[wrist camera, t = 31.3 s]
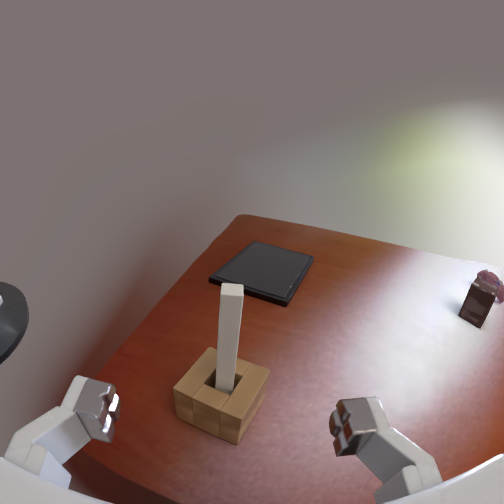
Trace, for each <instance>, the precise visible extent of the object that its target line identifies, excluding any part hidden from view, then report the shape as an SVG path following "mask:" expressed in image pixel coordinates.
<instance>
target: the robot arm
mask: <svg viewBox="0 0 504 504" xmlns="http://www.w3.org/2000/svg"><path fill="white" fill-rule="evenodd" d="M2 303H3V299H2V297H1V295H0V306H1V304H2ZM115 393H116V388H115V385H114V384H109V383H105V382H101V381H97V380H93V379H90V378H85V377H82V376H76V377H75V378H74V379H73V381H72V383H71V385H70V387H69V389H68V391H67V393H66V396H65V398H64V400H63V402H62V404H61V406H60V407H58V406H57V407H55V408H54V409H52V410H50V411H49V412H47V413H45V414H44V415H42V416H40V417H39V418H37V419H36V420H34V421H32V422H31V423H29V424H28V425H26V426H24V427H23V428H21V429H19V430H18V431H16V432H15V434H14V436H13V438H12V440H11V442H10V444H9V447H8V449H7V451H6V454H5V456H4V458H2V457H1V456H0V504H113V503H109V502H106V501H102V500H99V499H96V498H92V497H90V496H87V495H84V494H81V493H78V492H75V491H72V490H70V489H68V487H69V483H70V480H71V475H70V474H69V472H67V471H66V469H65V468H64V467H63V466H62V464H63V463H65V462H66V461H67V460H68V459H69V458H70V457H72V456H73V455H74V454H75V453H76V452H77V451H78V450H79V449H81V448H82V447H83V446H84V445H85V444H86V443H87V442H89V441H90V440H91V438H93V439H97V440H101V441H105V442H109V443H111V442H112V439H113V435H114V432H115V427H114V425H113V423H114V422H116V421H117V420H118V419H119V415H120V408H121V405H120V400H119V397H118V396H117V395H115ZM336 407H337V409H336V410H335V411H333V412H332V414H331V416H330V420H329V428H330V433H331V434H332V435H333V436H334V437H335V440H334V442H333V445H334V449H335V453H336V457H338V456H347V455H355V454H357V455H356V456H357V457H358V458H359V459H360V460H361V461H362V462H363V463H364V464H365V465H366V466H367V467H368V468H369V469H370V470H371V471H372V472H373V473H374V474H375V475H376V476H377V477H378V478H379V479H380V480H381V481H382V482H383V483H384V484H383V485H382V486H381V487H379V488H378V489H377V490H376V491H375V492H374V497H375V501H376V504H504V454H499V455H497V456H495V457H493V458H491V459H490V460H488V461H486V462H484V463H482V464H480V465H479V466H477V467H475V468H473V469H471V470H469V471H467V472H465V473H463V474H461V475H458V476H456V477H454V478H452V479H450V480H447V481H445V482H443V480H442V477H441V475H440V472H439V470H438V467H437V465H436V463H435V460H434V458H433V457H432V456H431V455H429V454H428V453H427V452H425V451H424V450H423V449H421V448H420V447H419V446H417V445H416V444H415V443H413V442H412V441H410V440H409V439H408V438H406V437H405V436H404V435H403V434H401V433H400V432H399V431H397V430H396V429H395V428H390V425H389V423H388V420H387V418H386V415H385V413H384V410H383V408H382V406H381V403H380V401H379V398H377V397H376V396H373V397H366V398H363V397H362V398H352V399H342V400H339V401H338V403H337V404H336Z"/></svg>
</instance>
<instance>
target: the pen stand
mask: <svg viewBox="0 0 504 504" xmlns="http://www.w3.org/2000/svg"><path fill="white" fill-rule="evenodd" d="M216 364H217V350H216V349H214V348H211V347H209V348H208V349H207V350H206V351H205V352H204V354H203V355H202V356H201V357H200V358H199V359H198V360H197V362H196V363H195V364H194V365H193V366H192V367H191V368H190V370H189V371H188V372H187V373H186V374H185V375H184V376H183V377H182V379H181V380H180V381H179V382H178V383H177V384H176V385H175V386H174V388H173V391H174V399H175V407H176V414H177V417H178V418H179V419H181V420H183V421H185V422H187V423H189V424H191V425H193V426H195V427H197V428H199V429H202V430H204V431H206V432H208V433H210V434H212V435H214V436H217V437H219V438H221V439H224V440H226V441H228V442H231V443H233V444H235V445H238V443H239V442H240V440H241V438H242V437H243V435H244V433H245V431H246V430H247V428H248V426H249V424H250V423H251V421H252V419H253V417H254V416H255V414H256V412H257V410H258V408H259V407H260V405H261V403H262V401H263V399H264V394H265V390H266V386H267V382H268V377H269V373H270V370H269V369H266V368H263V367H260V366H257V365H255V364H251V363H249V362H247V361H244V360H241V359H239V358H237V359H236V367H235V376H234V385H233V392H232V394H231V395H228V394H226V393H224V392H221V391H219V390H217V389H215V386H216Z"/></svg>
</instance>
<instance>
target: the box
mask: <svg viewBox="0 0 504 504" xmlns="http://www.w3.org/2000/svg"><path fill="white" fill-rule="evenodd" d="M498 290H499V288H497V287H495V286H493V285H491V284H489V283H488V282H486V281H484V280H482V279H480V278H479V277H477V278H476V279H475V281H474V282H473V283H472V284H471V286H470V289H469V291H468V294H467V296H466V299H465V301H464V303H463V305H462V308H461V310H460V312H459V316H461V317H462V318H464V319H466V320H468V321H469V322H471V323H473V324H474V325H476V326H478V327H479V328H481V326H482V325H483V323H484V321H485V319H486V317H487V315H488V313H489V311H490V309H491V307H492V304H493V302H494V300H495V298H496V295H497V292H498Z"/></svg>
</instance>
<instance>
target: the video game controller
mask: <svg viewBox="0 0 504 504" xmlns="http://www.w3.org/2000/svg"><path fill="white" fill-rule="evenodd" d="M477 277H479V278H480V279H482V280H484V281H486V282H488V283H489V284H491V285H493V286H495V287H497V288H499V290H498V292H497V295H496V297H497V299H498V300H499V302H503V301H504V286H503V283H502V281H500V280H499V279H498V277H497V276H496V275H495V274H494V273H492V272H488V270H487V269H486V270H483V271H480V272H479V273H478V274H477Z"/></svg>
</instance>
